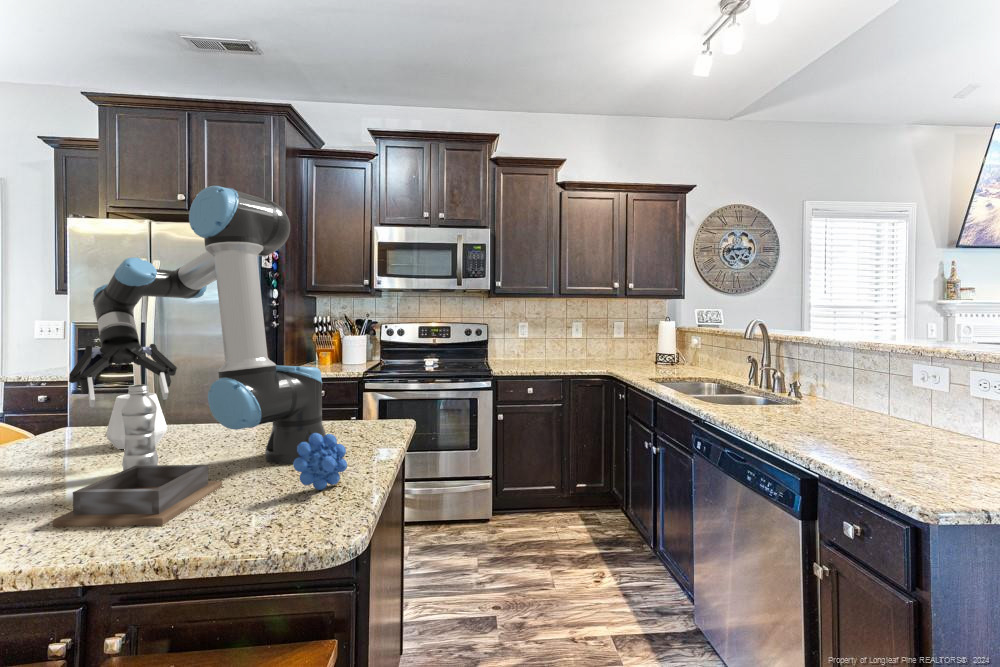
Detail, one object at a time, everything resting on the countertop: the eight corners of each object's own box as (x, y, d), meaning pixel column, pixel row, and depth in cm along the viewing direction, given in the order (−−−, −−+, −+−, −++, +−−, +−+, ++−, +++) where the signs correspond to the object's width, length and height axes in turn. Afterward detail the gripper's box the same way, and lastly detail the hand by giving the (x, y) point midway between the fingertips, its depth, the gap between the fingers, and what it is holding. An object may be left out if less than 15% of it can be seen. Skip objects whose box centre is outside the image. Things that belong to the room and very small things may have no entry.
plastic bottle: (118, 480, 100) (116, 388, 100) (126, 471, 106) (124, 384, 106) (155, 475, 103) (153, 386, 103) (161, 467, 109) (159, 382, 109)
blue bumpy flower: (305, 503, 88) (304, 441, 87) (287, 495, 92) (287, 435, 92) (358, 486, 97) (358, 429, 96) (340, 479, 101) (339, 424, 101)
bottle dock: (222, 486, 97) (221, 462, 96) (162, 525, 79) (162, 494, 78) (133, 487, 96) (132, 462, 96) (53, 526, 78) (52, 496, 78)
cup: (128, 439, 134) (127, 391, 133) (177, 438, 135) (177, 391, 135) (92, 453, 121) (91, 399, 120) (148, 451, 122) (147, 399, 122)
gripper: (174, 342, 129) (190, 402, 119) (50, 345, 111) (56, 417, 101) (179, 323, 125) (195, 384, 116) (51, 324, 107) (58, 396, 97)
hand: (131, 399), depth 108 cm, fingers open, 13 cm apart
